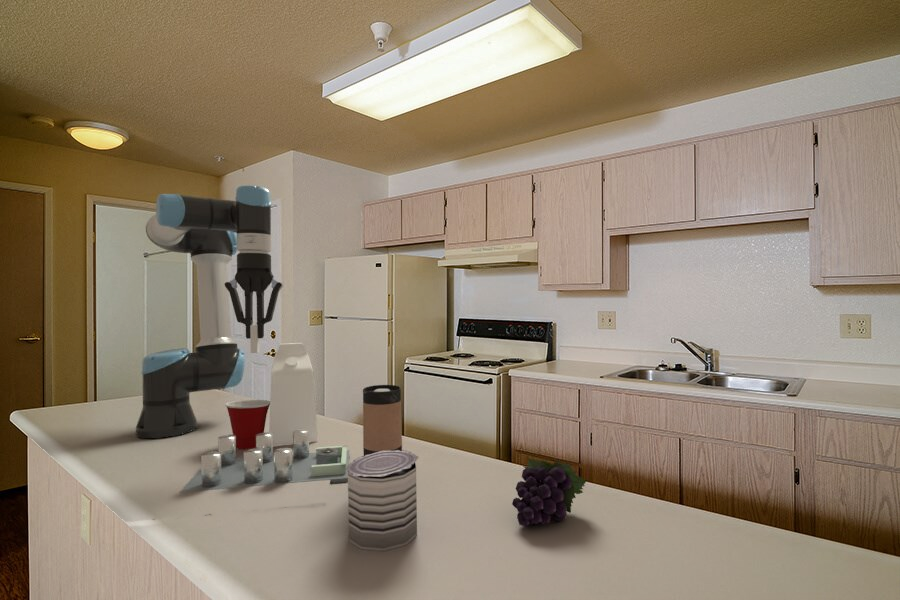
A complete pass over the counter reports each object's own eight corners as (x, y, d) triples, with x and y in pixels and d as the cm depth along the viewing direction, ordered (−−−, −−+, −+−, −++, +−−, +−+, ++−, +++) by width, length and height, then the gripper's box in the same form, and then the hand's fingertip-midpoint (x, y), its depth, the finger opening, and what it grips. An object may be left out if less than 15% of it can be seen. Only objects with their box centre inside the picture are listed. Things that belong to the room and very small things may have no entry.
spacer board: (207, 464, 110) (207, 460, 110) (349, 453, 116) (349, 450, 116) (179, 496, 92) (179, 492, 92) (347, 481, 98) (347, 477, 98)
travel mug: (408, 483, 97) (407, 385, 97) (392, 498, 90) (390, 393, 90) (375, 479, 100) (374, 383, 100) (356, 493, 93) (355, 390, 92)
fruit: (509, 543, 79) (546, 491, 91) (566, 553, 73) (599, 496, 84) (491, 487, 78) (531, 442, 90) (548, 493, 72) (583, 443, 83)
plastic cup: (281, 444, 124) (280, 398, 124) (247, 457, 114) (246, 407, 114) (251, 439, 128) (250, 395, 128) (216, 452, 119) (215, 404, 118)
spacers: (222, 459, 110) (222, 434, 110) (310, 453, 114) (309, 428, 114) (197, 490, 93) (197, 459, 93) (301, 481, 97) (301, 452, 97)
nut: (317, 461, 108) (317, 448, 108) (338, 460, 109) (337, 446, 109) (315, 469, 103) (315, 455, 103) (337, 468, 104) (336, 454, 104)
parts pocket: (316, 456, 112) (316, 447, 112) (346, 453, 114) (346, 445, 114) (311, 476, 99) (311, 466, 99) (345, 473, 101) (345, 464, 101)
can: (408, 554, 70) (406, 474, 70) (335, 548, 72) (334, 470, 72) (425, 519, 82) (424, 449, 82) (362, 514, 84) (361, 446, 84)
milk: (314, 432, 135) (313, 340, 134) (317, 444, 124) (316, 344, 123) (269, 437, 130) (267, 342, 130) (268, 450, 120) (266, 346, 119)
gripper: (220, 251, 108) (221, 355, 108) (280, 252, 110) (281, 353, 111) (228, 253, 115) (229, 350, 116) (285, 254, 118) (286, 349, 118)
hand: (255, 352), depth 113 cm, fingers closed
